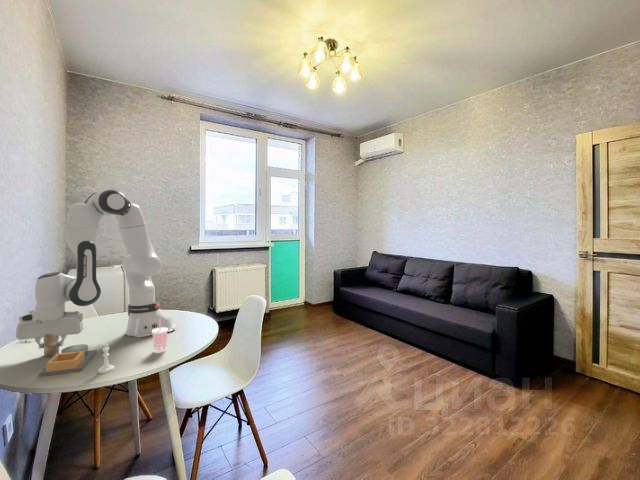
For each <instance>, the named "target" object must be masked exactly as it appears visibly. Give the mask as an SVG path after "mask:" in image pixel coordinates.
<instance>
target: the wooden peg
mask: <svg viewBox="0 0 640 480" xmlns="http://www.w3.org/2000/svg"><path fill="white" fill-rule="evenodd" d="M59 341H60V336H54V335H53V334H45V337H43V343H44V348H43V357H45V358H52V357H54V356H55V355H56V354H60V346H59V347H58V344H57V343H58V342H59Z"/></svg>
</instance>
